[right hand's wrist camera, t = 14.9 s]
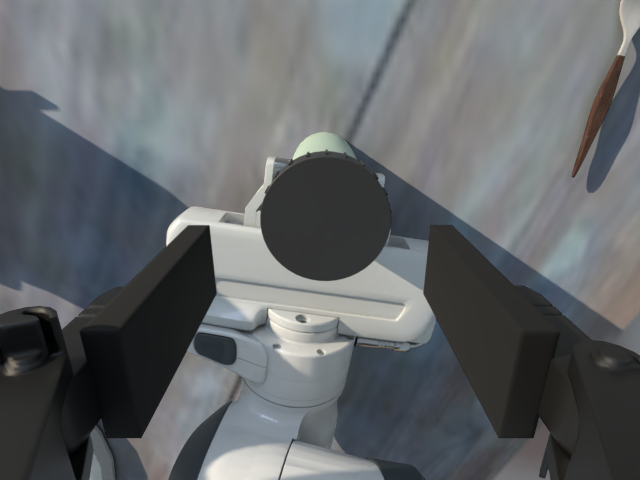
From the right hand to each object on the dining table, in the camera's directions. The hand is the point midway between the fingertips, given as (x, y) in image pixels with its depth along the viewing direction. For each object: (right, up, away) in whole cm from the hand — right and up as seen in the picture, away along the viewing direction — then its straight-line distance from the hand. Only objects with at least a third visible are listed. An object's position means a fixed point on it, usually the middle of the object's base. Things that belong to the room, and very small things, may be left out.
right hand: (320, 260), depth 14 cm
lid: (0, +2, +4) cm, 4 cm away
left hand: (0, +6, +12) cm, 13 cm away
